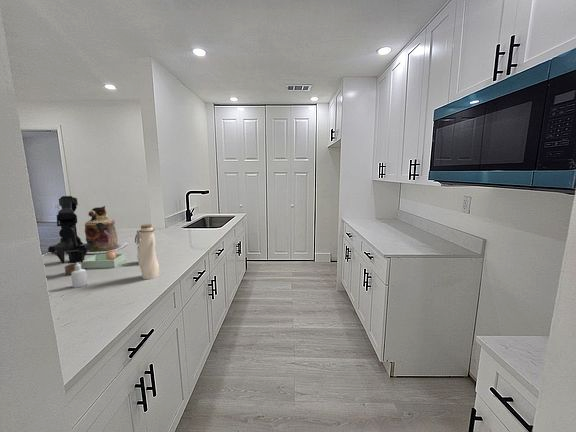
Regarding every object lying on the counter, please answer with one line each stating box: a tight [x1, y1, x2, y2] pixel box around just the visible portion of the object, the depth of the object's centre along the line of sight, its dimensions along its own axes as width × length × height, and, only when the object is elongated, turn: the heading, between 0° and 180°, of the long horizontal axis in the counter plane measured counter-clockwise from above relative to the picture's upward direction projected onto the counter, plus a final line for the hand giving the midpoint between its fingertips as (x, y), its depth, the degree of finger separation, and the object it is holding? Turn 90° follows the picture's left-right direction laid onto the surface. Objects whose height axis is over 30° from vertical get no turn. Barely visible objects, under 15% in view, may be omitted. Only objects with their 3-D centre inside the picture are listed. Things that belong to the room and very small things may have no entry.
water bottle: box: [134, 223, 160, 280], centre depth 140 cm, size 10×9×28 cm
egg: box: [106, 251, 117, 260], centre depth 162 cm, size 5×5×7 cm
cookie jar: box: [84, 205, 129, 255], centre depth 191 cm, size 25×25×32 cm
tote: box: [80, 253, 126, 270], centre depth 162 cm, size 18×14×4 cm
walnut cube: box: [64, 262, 82, 276], centre depth 147 cm, size 5×5×5 cm
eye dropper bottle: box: [70, 262, 88, 289], centre depth 130 cm, size 4×6×12 cm
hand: (72, 262), depth 146 cm, fingers open, 9 cm apart
